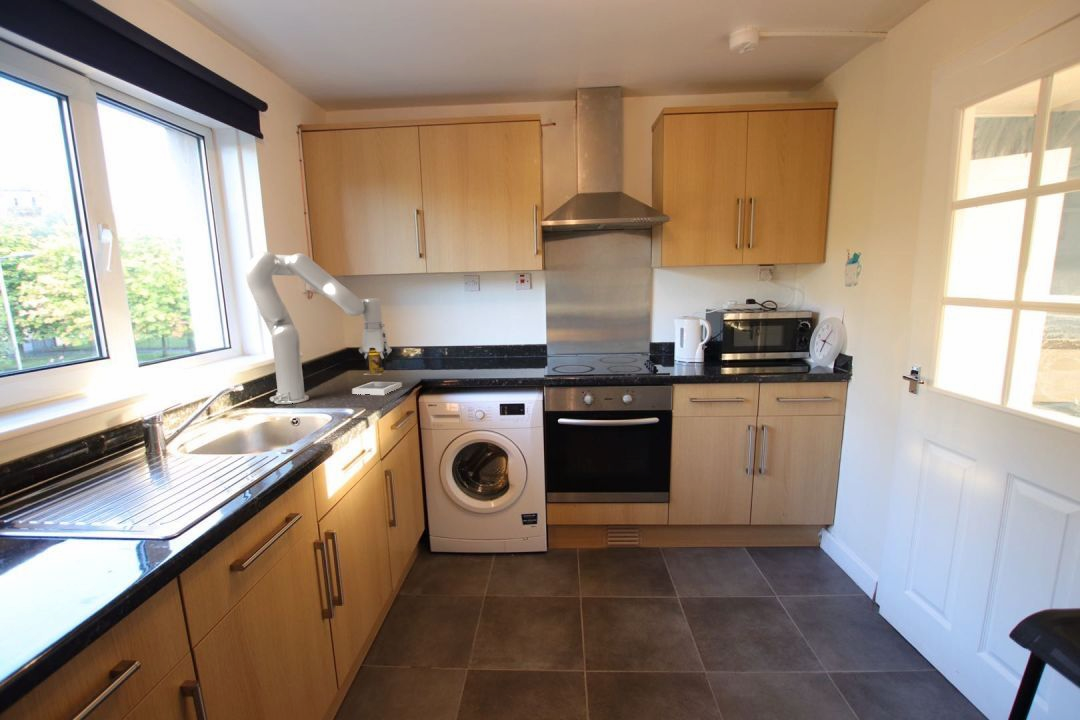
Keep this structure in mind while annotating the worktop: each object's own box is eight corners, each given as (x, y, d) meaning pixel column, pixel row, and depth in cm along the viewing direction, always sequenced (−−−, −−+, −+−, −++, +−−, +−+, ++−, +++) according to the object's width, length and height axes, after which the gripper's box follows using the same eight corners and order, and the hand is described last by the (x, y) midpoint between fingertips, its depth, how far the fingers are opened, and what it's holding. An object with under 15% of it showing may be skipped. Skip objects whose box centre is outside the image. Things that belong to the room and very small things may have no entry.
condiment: (380, 375, 201) (378, 347, 200) (362, 375, 202) (360, 347, 201) (387, 372, 209) (385, 345, 207) (369, 372, 209) (367, 346, 208)
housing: (384, 395, 197) (383, 389, 197) (352, 394, 200) (352, 388, 200) (401, 387, 213) (401, 382, 212) (372, 387, 216) (371, 381, 215)
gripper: (395, 325, 204) (398, 365, 207) (360, 326, 207) (363, 365, 210) (387, 327, 197) (390, 368, 200) (350, 327, 200) (354, 368, 203)
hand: (376, 366), depth 205 cm, fingers closed on condiment, 6 cm apart
